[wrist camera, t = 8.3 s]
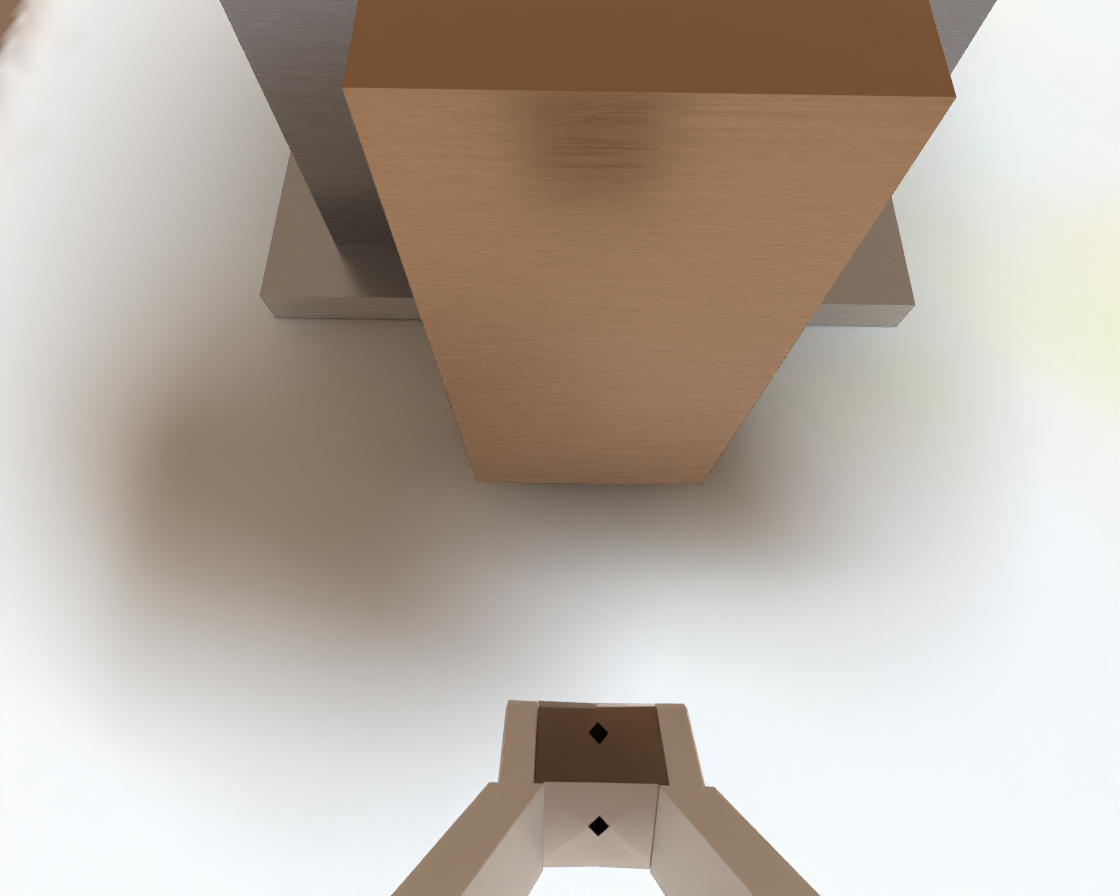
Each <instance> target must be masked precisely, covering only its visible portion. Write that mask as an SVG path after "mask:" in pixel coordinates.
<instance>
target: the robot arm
mask: <svg viewBox="0 0 1120 896" xmlns="http://www.w3.org/2000/svg"><path fill="white" fill-rule="evenodd" d="M587 866H597V867H618V868H638V869H650V873H651V874H652V876H653V877H654V879H655V880H656V882H657V883H658V885H659V887H660V888H661V890H662V891H663V893H664V894H665V896H820V895H819V894H818V893H817V892H816V891H815V890H814V889H813V888H812V887H811V886H810V885H809V884H808V883H807V882H806V881H805V880H804V879H803V878H802V877H801V876H800V875H799V874H798V873H797V872H796V871H795V870H794V868H793V867H792V866H791V865H790V864H789V863H788V862H787V861H786V860H785V859H784V858H783V857H782V856H781V855H780V854H779V853H778V852H777V851H776V850H775V849H774V848H773V847H772V846H771V845H770V844H769V843H768V842H767V841H766V840H765V839H764V838H763V837H762V836H761V834H760V833H759V832H758V831H757V830H756V829H755V828H754V827H753V826H752V825H751V824H750V823H749V822H748V821H747V820H746V819H745V818H744V817H743V816H742V815H741V814H740V813H739V812H738V811H737V810H736V809H735V808H734V807H733V806H732V805H731V804H730V803H729V802H728V800H727V799H726V798H725V797H724V796H723V795H722V794H721V793H720V792H719V791H718V790H717V789H716V788H715V787H706V786H705V784H704V779H703V775H702V771H701V766H700V762H699V758H698V753H697V749H696V745H695V741H694V736H693V732H692V728H691V723H690V719H689V715H688V710H687V708H686V706H685V705H684V704H654V705H653V704H642V703H575V702H553V701H538V702H536V701H517V700H508V703H507V706H506V714H505V723H504V732H503V742H502V751H501V760H500V770H499V779H498V782H489V783H488V784H487V786H486V787H485V788H484V789H483V790H482V791H481V792H480V794H479V795H478V796H477V797H476V798H475V799H474V801H473V802H472V803H471V804H470V805H469V806H468V807H467V809H466V810H465V811H464V812H463V813H462V814H461V816H460V817H459V818H458V819H457V820H456V821H455V823H454V824H453V825H452V826H451V827H450V828H449V829H448V831H447V832H446V833H445V834H444V835H443V836H442V838H441V839H440V840H439V841H438V842H437V843H436V845H435V846H434V847H433V848H432V849H431V850H430V851H429V853H428V854H427V855H426V856H425V857H424V858H423V860H422V861H421V862H420V863H419V864H418V865H417V866H416V868H415V869H414V870H413V871H412V872H411V873H410V875H409V876H408V877H407V878H406V879H405V880H404V882H403V883H402V884H401V885H400V886H399V887H398V888H397V890H396V891H395V892H394V893H393V894H392V895H391V896H528V895H529V893H530V891H531V890H532V888H533V886H534V885H535V883H536V881H537V879H538V878H539V876H540V874H541V873H542V871H543V867H587Z"/></svg>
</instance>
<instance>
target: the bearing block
mask: <svg viewBox="0 0 1120 896" xmlns="http://www.w3.org/2000/svg"><path fill="white" fill-rule="evenodd" d="M996 1H997V0H929V3H930V7H931V10H932V14H933V17H934V21H935V24H936V28H937V31H938V35H939V38H940V42H941V45H942V49H943V52H944V56H945V59H946V63H947V66H948V70H949V73H950V74H951V73H952V71H953V69H954V68H955V66H956V65H957V63H958V61H959V60H960V58H961V57H962V55H963V53H964V52H965V50H966V49H967V47H968V45H969V44H970V42H971V41H972V39H973V37H974V36H975V34H976V33H977V31H978V29H979V28H980V26H981V25H982V23H983V21H984V20H985V18H986V17H987V15H988V13H989V12H990V10H991V9H992V7H993V5H994V4H995V2H996ZM220 2H221V4H222V6H223V8H224V10H225V12H226V14H227V17H228V19H229V21H230V23H231V25H232V27H233V29H234V31H235V33H236V36H237V38H238V40H239V42H240V44H241V46H242V48H243V50H244V52H245V55H246V57H247V59H248V61H249V63H250V65H251V67H252V69H253V72H254V74H255V76H256V78H257V80H258V82H259V84H260V86H261V88H262V91H263V93H264V95H265V97H266V99H267V101H268V103H269V105H270V107H271V110H272V112H273V114H274V116H275V118H276V120H277V122H278V124H279V127H280V129H281V131H282V133H283V135H284V137H285V139H286V141H287V143H288V146H289V148H290V150H291V153H290V157H289V162H288V167H287V171H286V176H285V181H284V185H283V190H282V195H281V199H280V204H279V209H278V213H277V218H276V223H275V227H274V232H273V237H272V242H271V246H270V251H269V256H268V260H267V265H266V270H265V274H264V279H263V284H262V288H261V293H260V297H261V298H262V299H263V301H264V302H265V304H266V305H267V306H268V308H269V309H270V311H271V312H272V313H273V315H274V316H275V317H277V318H346V319H414V320H421V317H420V314H419V311H418V308H417V305H416V302H415V300H414V297H413V294H412V291H411V288H410V285H409V282H408V279H407V276H406V273H405V270H404V267H403V265H402V262H401V259H400V256H399V253H398V250H397V247H396V244H395V241H394V238H393V235H392V232H391V230H390V227H389V224H388V221H387V218H386V215H385V212H384V209H383V206H382V203H381V200H380V197H379V195H378V192H377V189H376V186H375V183H374V180H373V177H372V174H371V171H370V168H369V165H368V162H367V160H366V157H365V154H364V151H363V148H362V145H361V142H360V139H359V136H358V133H357V130H356V127H355V125H354V122H353V119H352V116H351V113H350V110H349V107H348V104H347V101H346V98H345V95H344V92H343V90H342V84H343V79H344V73H345V68H346V62H347V57H348V52H349V46H350V41H351V35H352V30H353V25H354V19H355V14H356V8H357V3H358V0H220ZM914 306H915V302H914V297H913V293H912V288H911V284H910V279H909V275H908V270H907V266H906V261H905V256H904V252H903V247H902V243H901V238H900V234H899V229H898V225H897V220H896V216H895V211H894V206H893V202H892V197H890V199H889V200H888V202H887V203H886V205H885V207H884V208H883V210H882V211H881V213H880V214H879V216H878V217H877V219H876V220H875V222H874V223H873V225H872V226H871V228H870V229H869V231H868V232H867V234H866V235H865V237H864V238H863V240H862V242H861V243H860V245H859V246H858V248H857V249H856V251H855V252H854V254H853V255H852V257H851V258H850V260H849V261H848V263H847V264H846V266H845V267H844V269H843V270H842V272H841V273H840V275H839V277H838V278H837V280H836V281H835V283H834V284H833V286H832V287H831V289H830V290H829V292H828V293H827V295H826V296H825V298H824V299H823V301H822V302H821V304H820V305H819V307H818V308H817V310H816V312H815V313H814V315H813V316H812V318H811V319H810V321H809V322H808V324H807V325H825V326H893V327H896V326H897V325H898V324H899V323H900V322H901V321H902V320H903V318H904V317H905V316H906V315H907V314H908V313H909V312H910V311H911V310H912V308H913V307H914Z"/></svg>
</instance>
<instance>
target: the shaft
mask: <svg viewBox="0 0 1120 896" xmlns="http://www.w3.org/2000/svg"><path fill="white" fill-rule="evenodd" d="M342 90H343V92H344V95H345V98H346V101H347V104H348V107H349V110H350V113H351V116H352V119H353V122H354V125H355V127H356V130H357V133H358V136H359V139H360V142H361V145H362V148H363V151H364V154H365V157H366V160H367V162H368V165H369V168H370V171H371V174H372V177H373V180H374V183H375V186H376V189H377V192H378V195H379V197H380V200H381V203H382V206H383V209H384V212H385V215H386V218H387V221H388V224H389V227H390V230H391V232H392V235H393V238H394V241H395V244H396V247H397V250H398V253H399V256H400V259H401V262H402V265H403V267H404V270H405V273H406V276H407V279H408V282H409V285H410V288H411V291H412V294H413V297H414V300H415V302H416V305H417V308H418V311H419V314H420V317H421V320H422V323H423V326H424V329H425V332H426V335H427V337H428V340H429V343H430V346H431V349H432V352H433V355H434V358H435V361H436V364H437V367H438V370H439V372H440V375H441V378H442V381H443V384H444V387H445V390H446V393H447V396H448V399H449V402H450V405H451V407H452V410H453V413H454V416H455V419H456V422H457V425H458V428H459V431H460V434H461V437H462V440H463V442H464V445H465V448H466V451H467V454H468V457H469V460H470V463H471V466H472V469H473V472H474V475H475V477H476V480H477V482H514V483H586V484H657V485H702V484H703V482H704V480H705V479H706V477H707V476H708V474H709V473H710V471H711V470H712V468H713V467H714V465H715V464H716V462H717V461H718V459H719V458H720V456H721V455H722V453H723V452H724V450H725V449H726V447H727V445H728V444H729V442H730V441H731V439H732V438H733V436H734V435H735V433H736V432H737V430H738V429H739V427H740V426H741V424H742V423H743V421H744V420H745V418H746V417H747V415H748V414H749V412H750V410H751V409H752V407H753V406H754V404H755V403H756V401H757V400H758V398H759V397H760V395H761V394H762V392H763V391H764V389H765V388H766V386H767V385H768V383H769V382H770V380H771V378H772V377H773V375H774V374H775V372H776V371H777V369H778V368H779V366H780V365H781V363H782V362H783V360H784V359H785V357H786V356H787V354H788V353H789V351H790V350H791V348H792V347H793V345H794V343H795V342H796V340H797V339H798V337H799V336H800V334H801V333H802V331H803V330H804V328H805V327H806V325H807V324H808V322H809V321H810V319H811V318H812V316H813V315H814V313H815V312H816V310H817V308H818V307H819V305H820V304H821V302H822V301H823V299H824V298H825V296H826V295H827V293H828V292H829V290H830V289H831V287H832V286H833V284H834V283H835V281H836V280H837V278H838V277H839V275H840V273H841V272H842V270H843V269H844V267H845V266H846V264H847V263H848V261H849V260H850V258H851V257H852V255H853V254H854V252H855V251H856V249H857V248H858V246H859V245H860V243H861V242H862V240H863V238H864V237H865V235H866V234H867V232H868V231H869V229H870V228H871V226H872V225H873V223H874V222H875V220H876V219H877V217H878V216H879V214H880V213H881V211H882V210H883V208H884V207H885V205H886V203H887V202H888V200H889V199H890V197H891V196H892V194H893V193H894V191H895V190H896V188H897V187H898V185H899V184H900V182H901V181H902V179H903V178H904V176H905V175H906V173H907V172H908V170H909V168H910V167H911V165H912V164H913V162H914V161H915V159H916V158H917V156H918V155H919V153H920V152H921V150H922V149H923V147H924V146H925V144H926V143H927V141H928V140H929V138H930V137H931V135H932V133H933V132H934V130H935V129H936V127H937V126H938V124H939V123H940V121H941V120H942V118H943V117H944V115H945V114H946V112H947V111H948V109H949V108H950V106H951V105H952V103H953V102H954V100H955V98H956V94H955V90H954V87H953V83H952V80H951V76H950V73H949V70H948V66H947V63H946V59H945V56H944V52H943V49H942V45H941V42H940V38H939V35H938V31H937V28H936V24H935V21H934V17H933V14H932V10H931V7H930V3H929V0H358V3H357V8H356V14H355V19H354V25H353V30H352V35H351V41H350V46H349V52H348V57H347V62H346V68H345V73H344V79H343V84H342Z"/></svg>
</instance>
